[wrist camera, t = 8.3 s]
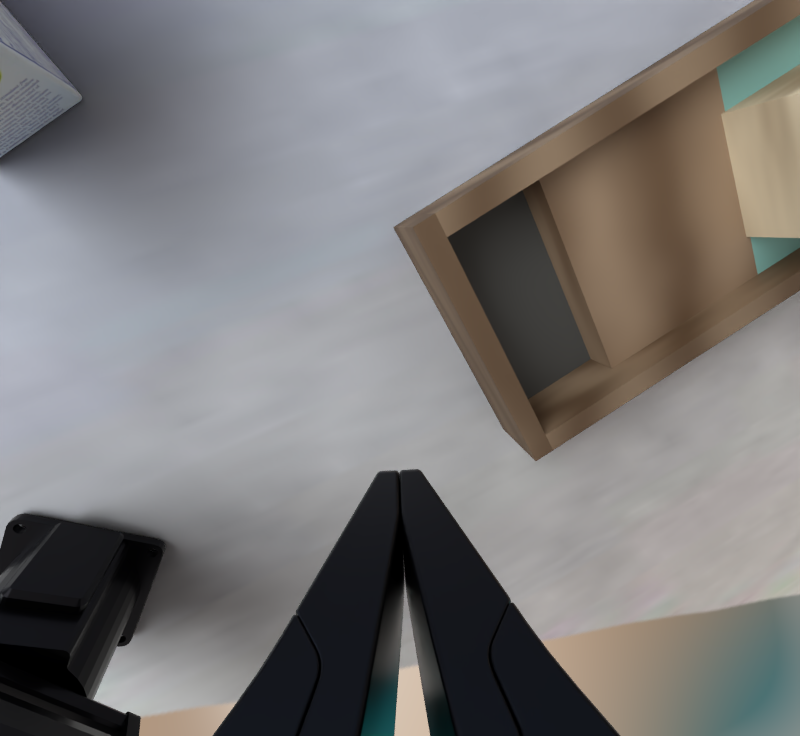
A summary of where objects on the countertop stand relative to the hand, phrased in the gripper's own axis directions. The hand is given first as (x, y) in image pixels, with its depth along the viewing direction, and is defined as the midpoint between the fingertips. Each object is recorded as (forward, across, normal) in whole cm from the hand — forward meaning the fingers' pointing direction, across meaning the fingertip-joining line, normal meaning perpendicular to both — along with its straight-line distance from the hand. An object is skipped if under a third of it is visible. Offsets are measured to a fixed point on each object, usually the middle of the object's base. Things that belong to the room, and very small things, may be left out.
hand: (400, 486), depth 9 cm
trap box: (+17, -16, -4) cm, 24 cm away
